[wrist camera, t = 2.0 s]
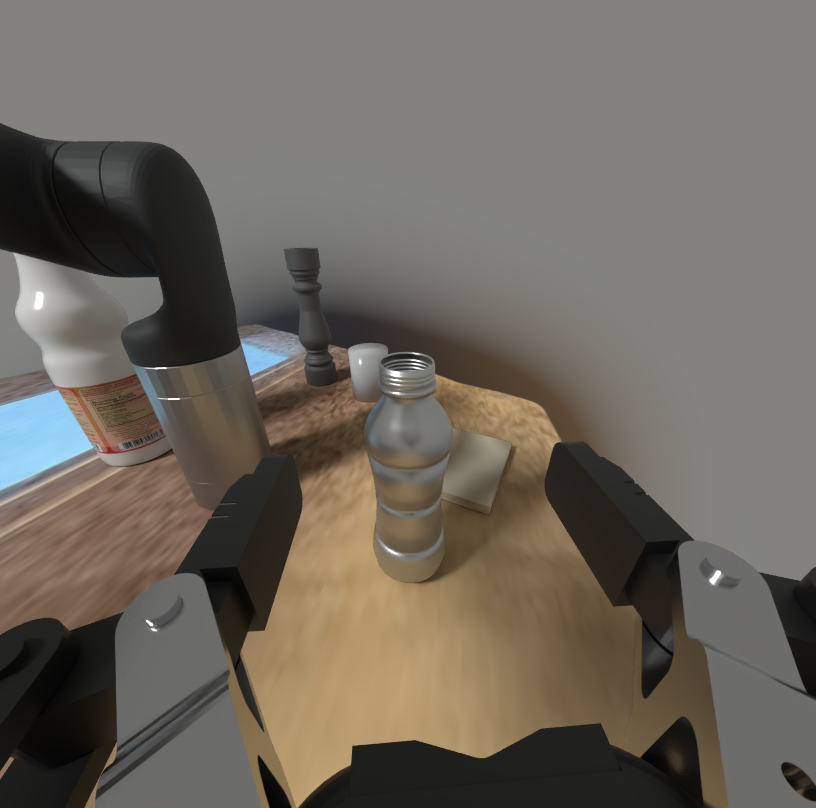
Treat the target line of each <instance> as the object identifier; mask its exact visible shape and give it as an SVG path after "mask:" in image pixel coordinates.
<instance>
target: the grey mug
mask: <svg viewBox="0 0 816 808" xmlns="http://www.w3.org/2000/svg"><path fill="white" fill-rule="evenodd" d="M348 353H349V362H350V371H351V380H352V389H353V397H354V398H355V399H356V400H358V401H361V402H368V403H370V402H377V401H378V400H379V398H380V397H381V396H382V395H383V394H382V393H381V392H380V391H379V389H378V380H379V368H378V364H379V359H381V358H382V357H383V356H385V355H388V348H387V347H386V346H385V345H382V344H377V343H364V344H358V345H355V346H352V347H351V348H349V350H348Z"/></svg>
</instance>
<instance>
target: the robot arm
mask: <svg viewBox="0 0 816 808" xmlns="http://www.w3.org/2000/svg"><path fill="white" fill-rule="evenodd" d="M0 249H2V250H6V251H9V252H13V253H17V254H21V255H25V256H29V257H32V258H36V259H40V260H44V261H47V262H51V263H55V264H58V265H62V266H66V267H70V268H73V269H77V270H81V271H85V272H89V273H94V274H98V275H104V276H110V277H159V281H160V285H161V289H162V294H163V305H162V306H161V307H160V309H159V310H158V311H157V312H156V313H154V314H153V315H151V316H148V317H146V318H144V319H141V320H139V321H136V322H134V323H132V324H130V325H128V326H127V327H125V328H124V329H123V331H122V332H121V341H122V344H123V346H124V349H125V351H126V353H127V355H128V357H129V359H130V361H131V363H132V365H133V367H134V369H135V372H136V374H137V376H138V378H139V380H140V382H141V384H142V386H143V388H144V391H145V392H146V394H147V396H148V399H149V401H150V403H151V405H152V407H153V409H154V411H155V413H156V416H157V418H158V420H159V422H160V424H161V426H162V428H163V430H164V433H165V435H166V437H167V439H168V441H169V443H170V445H171V448H172V450H173V452H174V454H175V456H176V458H177V460H178V462H179V465H180V467H181V469H182V471H183V473H184V476H185V478H186V480H187V482H188V484H189V486H190V488H191V490H192V493H193V495H194V497H195V499H196V501H197V502H198V503H199V505H201V506H203V507H205V508H208V509H213V510H215V511H214V513H213V514H212V518H211V519H209V520H208V522H207V524H206V525H205V527H204V528H203V530H202V532H201V533H200V535H199V536H198V538H197V539H196V541H195V543H194V544H193V546H192V547H191V549H190V551H189V552H188V554H187V555H186V557H185V559H184V560H183V562H182V563H181V565H180V566H179V568H178V570H177V571H176V573H175V574H174V575H173V576H170V577H167V578H165V579H163V580H161V581H159V582H157V583H155V584H153V585H152V586H150V587H149V588H148V589H146V590H145V591H144V592H142V593H141V594H140V595H139V596H138V597H137V598H136V599H135V600H134V601H133V602H132V603H131V604H130V605H129V606H128V607H127V609H126V610H125V611H124V612H122V613H120V614H117V615H114V616H111V617H108V618H105V619H102V620H100V621H97V622H94V623H91V624H88V625H85V626H82V627H80V628H77V629H74V630H71V631H69V630H68V629H67V628H66V627H65V626H64V625H63V624H62V623H61V622H60V621H59V620H57V619H54V618H41V619H36V620H32V621H29V622H26V623H23V624H21V625H19V626H16V627H14V628H12V629H10V630H8V631H6V632H5V633H3V634H1V635H0V771H1V769H2V768H3V766H4V765H5V763H6V762H7V760H8V759H9V758H10V756H11V757H12V758H14V760H13V762H12V763H11V765H10V766H9V768H8V769H7V770H6V772H5V773H4V775H3V776H2V778H1V779H0V808H84V807H85V805H86V803H87V801H88V799H89V797H90V795H91V793H92V791H93V789H94V787H95V785H96V783H97V781H98V779H99V777H100V775H101V773H102V771H103V769H104V767H105V765H106V763H107V761H108V758H109V756H110V754H111V752H112V750H113V748H114V746H115V744H116V742H117V754H116V758H115V760H114V762H113V763H112V764H110V765H109V766H108V767H106V769H105V770H104V771H103V773H102V775H101V777H100V779H99V782H98V787H97V791H96V799H95V808H296V806H295V803H294V800H293V797H292V794H291V791H290V788H289V785H288V782H287V779H286V777H285V774H284V771H283V768H282V766H281V763H280V761H279V758H278V756H277V753H276V751H275V749H274V747H273V744H272V741H271V739H270V736H269V733H268V730H267V727H266V724H265V721H264V718H263V715H262V712H261V709H260V706H259V703H258V700H257V697H256V694H255V691H254V688H253V685H252V682H251V679H250V676H249V673H248V670H247V667H246V663H245V660H244V657H243V654H242V652H241V649H242V646H243V644H244V641H245V638H246V635H247V632H249V631H263V630H265V627H266V624H267V621H268V618H269V615H270V611H271V608H272V605H273V602H274V599H275V595H276V592H277V589H278V586H279V582H280V579H281V576H282V573H283V570H284V566H285V563H286V560H287V557H288V554H289V550H290V547H291V544H292V541H293V538H294V534H295V531H296V528H297V525H298V521H299V518H300V515H301V511H302V491H301V487H300V483H299V479H298V475H297V470H296V466H295V462H294V459H293V456H292V455H272V452H271V448H270V444H269V440H268V437H267V433H266V430H265V426H264V423H263V419H262V416H261V412H260V408H259V405H258V401H257V398H256V394H255V391H254V387H253V384H252V380H251V376H250V373H249V370H248V366H247V363H246V359H245V356H244V352H243V349H242V345H241V341H240V338H239V334H238V330H237V323H236V311H235V305H234V301H233V297H232V293H231V288H230V284H229V280H228V276H227V271H226V267H225V262H224V257H223V252H222V248H221V243H220V238H219V234H218V229H217V225H216V221H215V217H214V214H213V211H212V208H211V205H210V202H209V199H208V197H207V195H206V192H205V190H204V188H203V185H202V184H201V182H200V180H199V178H198V177H197V175H196V173H195V172H194V170H193V169H192V167H191V166H190V165H189V164H188V163H187V161H186V160H185V159H184V158H183V157H182V156H181V155H180V154H179V153H177V152H176V151H175V150H173V149H172V148H169V147H167V146H165V145H162V144H158V143H152V142H131V141H130V142H129V141H124V142H119V141H107V142H106V141H102V142H100V141H96V142H94V141H93V142H92V141H91V142H90V141H89V142H88V141H85V142H83V141H81V142H80V141H78V142H70V141H69V142H68V141H57V140H49V139H43V138H38V137H35V136H32V135H29V134H26V133H23V132H21V131H18V130H16V129H13V128H10V127H8V126H6V125H3V124H1V123H0ZM545 492H546V496H547V499H548V501H549V502H550V504H551V506H552V507H553V509H554V511H555V512H556V514H557V515H558V517H559V519H560V520H561V522H562V524H563V525H564V527H565V528H566V530H567V532H568V533H569V535H570V537H571V538H572V540H573V541H574V543H575V545H576V546H577V548H578V550H579V551H580V553H581V555H582V556H583V558H584V559H585V561H586V563H587V564H588V566H589V568H590V569H591V571H592V572H593V574H594V576H595V577H596V579H597V581H598V582H599V584H600V585H601V587H602V589H603V590H604V592H605V594H606V595H607V597H608V599H609V600H610V602H611V603H612V605H613V607H615V606H628V605H633V606H634V608H635V609H636V611H637V612H638V614H639V615H638V616H637V618H636V621H635V647H634V685H633V705H632V711H631V715H630V718H629V721H628V724H627V728H626V732H625V738H624V745H623V750H622V749H620V748H618V747H615V746H613V745H610V743H609V741H608V739H607V737H606V734H605V732H604V730H603V728H602V725H601V723H599V724H588V725H577V726H566V727H555V728H544V729H540V730H538V731H536V732H534V733H533V734H531V735H529V736H527V737H525V738H523V739H521V740H519V741H518V742H516V743H514V744H512V745H510V746H508V747H506V748H505V749H503V750H501V751H499V752H497V753H495V754H493V755H492V756H489V757H487V758H476V757H472V756H469V755H465V754H462V753H458V752H455V751H451V750H448V749H444V748H441V747H437V746H434V745H430V744H427V743H423V742H420V741H416V740H412V741H401V742H390V743H379V744H368V745H357V746H352V761H351V765H350V766H348V767H346V768H344V769H342V770H340V771H339V772H337V773H336V774H334V775H333V776H332V777H330V778H329V779H327V780H326V781H324V782H323V783H322V784H321V785H320V786H319V787H318V788H317V789H316V790H314V791H313V792H312V793H311V794H310V795H309V796H308V797H307V798H306V799H305V801H304V802H303V803H302V804H301V805H300V806H299V807H298V808H816V567H815V568H813V569H812V570H811V571H810V572H809V573H808V574H807V575H806V576H805V577H804V578H803V579H802V580H801V581H798V580H793V579H788V578H783V577H778V576H773V575H769V574H764V573H760V572H758V571H757V570H755V569H754V568H753V567H752V566H751V565H750V564H748V563H747V562H746V561H745V560H743V559H742V558H740V557H739V556H737V555H735V554H734V553H732V552H730V551H728V550H726V549H724V548H722V547H719V546H717V545H714V544H711V543H707V542H702V541H695V540H694V539H692V537H691V536H689V534H688V533H686V532H685V531H684V530H683V529H682V528H681V527H680V526H679V525H678V524H677V523H676V522H675V521H674V520H673V519H672V518H671V517H670V516H669V515H668V514H667V513H666V512H665V511H664V510H663V509H662V508H661V507H660V506H659V505H658V504H657V503H656V502H655V501H654V500H653V499H652V498H651V497H650V496H649V495H646V494H645V491H644V490H643V489H642V488H641V487H640V486H639V485H638V484H635V483H634V480H633V479H632V478H631V477H629V475H628V474H627V473H625V471H624V470H623V469H621V468H620V467H619V466H617V465H615V464H614V463H612V462H610V461H609V460H607V459H605V458H604V457H599V456H598V455H597V454H596V453H595V452H594V450H592V448H590V446H589V445H588V444H587V443H585V442H583V441H580V442H558V443H556V444H555V445H554V447H553V451H552V454H551V458H550V462H549V466H548V470H547V474H546V478H545Z"/></svg>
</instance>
